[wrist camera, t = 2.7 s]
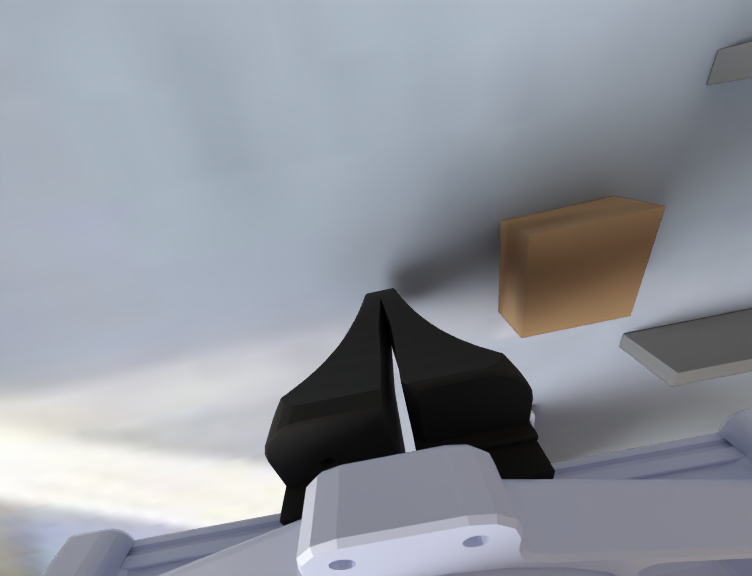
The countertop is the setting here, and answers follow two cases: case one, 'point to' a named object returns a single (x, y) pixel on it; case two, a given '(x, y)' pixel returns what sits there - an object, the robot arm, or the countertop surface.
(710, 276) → the countertop surface
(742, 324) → the grey u-shaped bracket
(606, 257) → the walnut tile
